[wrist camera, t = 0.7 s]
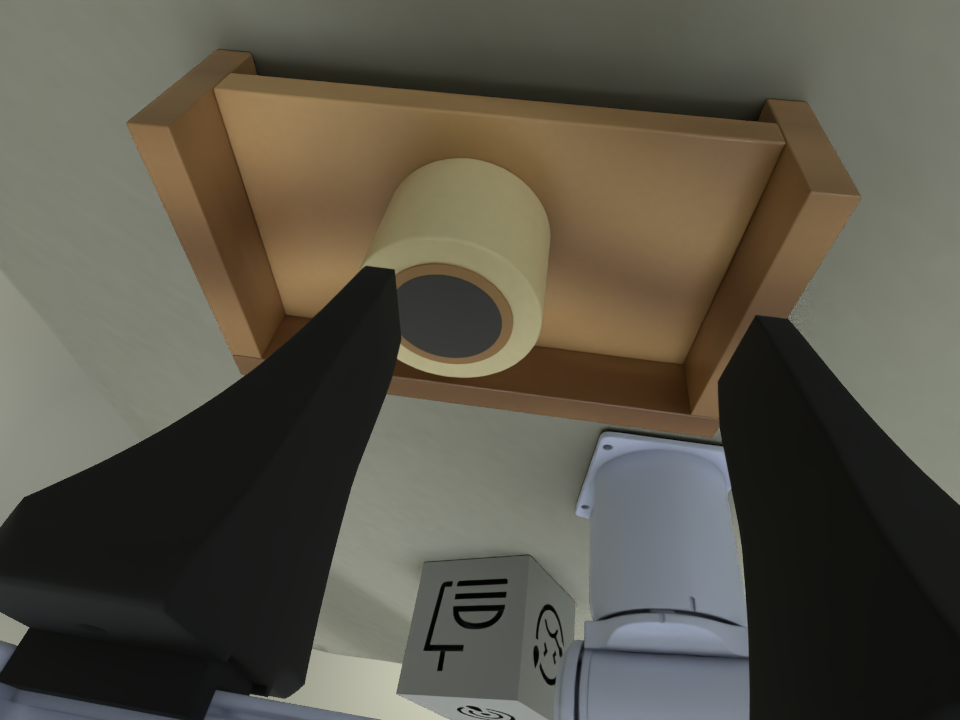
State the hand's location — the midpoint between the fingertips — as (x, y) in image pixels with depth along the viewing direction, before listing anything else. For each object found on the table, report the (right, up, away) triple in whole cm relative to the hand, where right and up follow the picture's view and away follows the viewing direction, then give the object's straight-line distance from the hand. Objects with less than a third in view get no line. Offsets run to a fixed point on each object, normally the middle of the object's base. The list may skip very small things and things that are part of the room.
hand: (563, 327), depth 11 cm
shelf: (-1, +5, +9) cm, 10 cm away
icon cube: (0, -20, +37) cm, 42 cm away
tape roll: (-2, +4, +7) cm, 8 cm away
